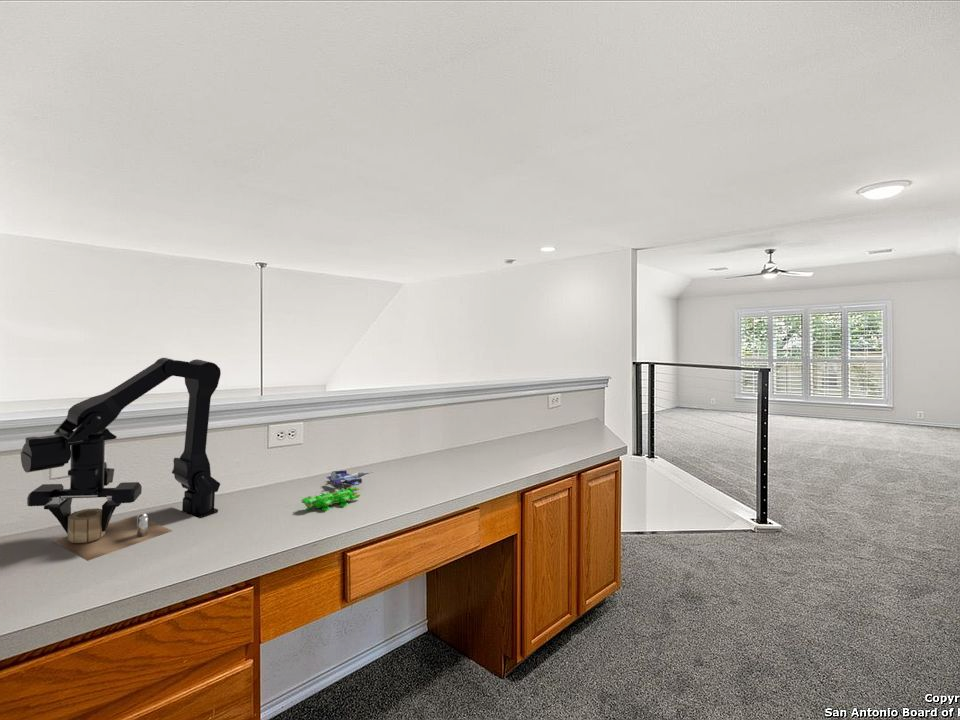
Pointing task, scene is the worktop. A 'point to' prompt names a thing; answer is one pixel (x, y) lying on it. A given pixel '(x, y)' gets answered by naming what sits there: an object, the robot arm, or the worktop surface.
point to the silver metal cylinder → (142, 525)
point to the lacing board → (113, 538)
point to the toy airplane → (346, 478)
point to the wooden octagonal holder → (85, 525)
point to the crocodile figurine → (331, 498)
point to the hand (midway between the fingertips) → (86, 531)
